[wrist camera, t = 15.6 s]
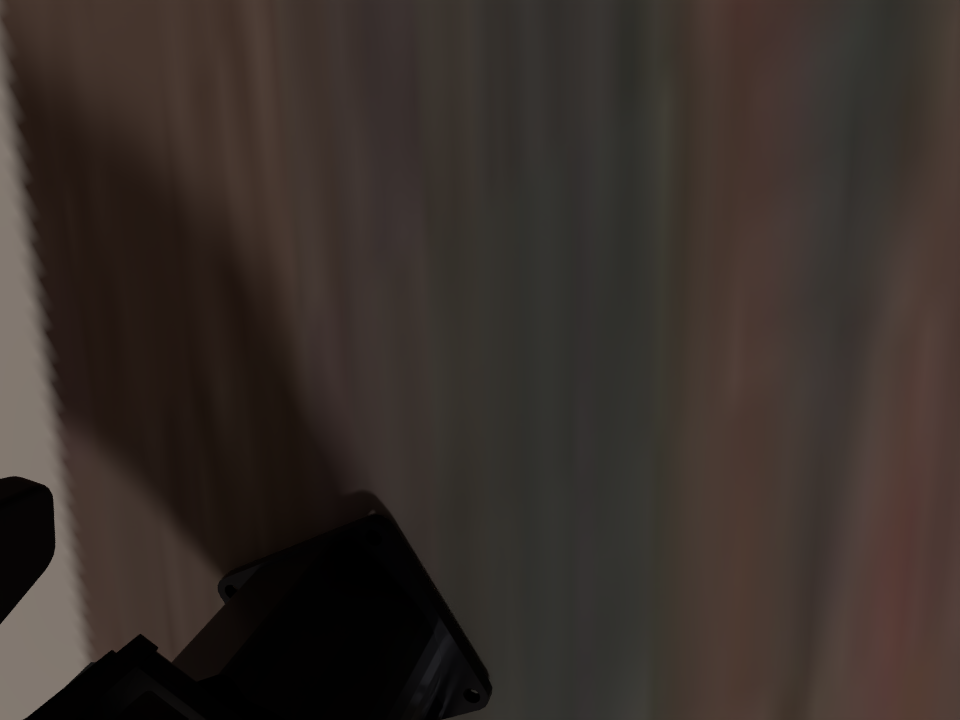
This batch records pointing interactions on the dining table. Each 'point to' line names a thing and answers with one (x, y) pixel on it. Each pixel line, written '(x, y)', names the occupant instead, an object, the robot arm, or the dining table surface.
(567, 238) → the dining table surface
